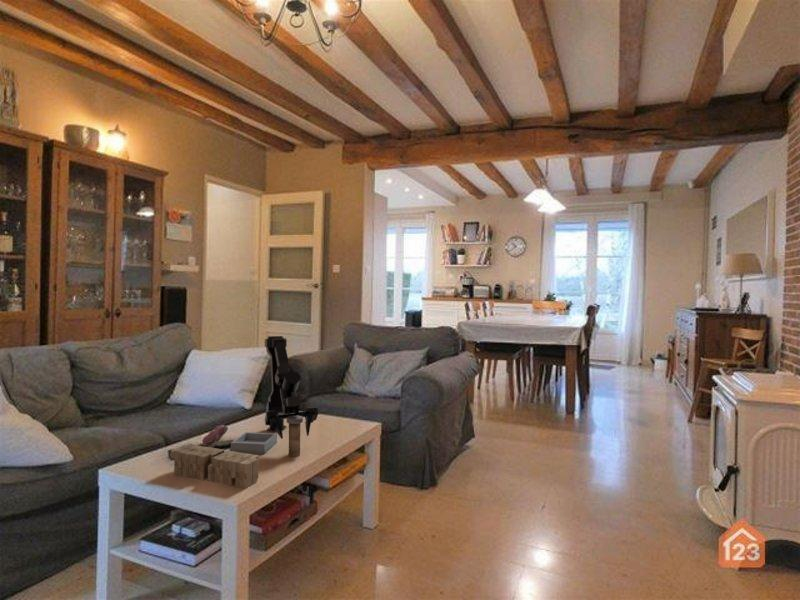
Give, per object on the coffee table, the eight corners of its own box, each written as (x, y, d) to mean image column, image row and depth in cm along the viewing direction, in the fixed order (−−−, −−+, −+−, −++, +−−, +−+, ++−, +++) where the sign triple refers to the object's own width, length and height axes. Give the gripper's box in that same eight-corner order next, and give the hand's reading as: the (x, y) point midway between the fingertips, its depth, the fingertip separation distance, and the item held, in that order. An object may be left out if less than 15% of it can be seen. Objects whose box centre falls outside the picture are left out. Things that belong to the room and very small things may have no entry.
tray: (245, 441, 186) (245, 432, 186) (276, 442, 185) (277, 433, 185) (230, 452, 174) (230, 442, 174) (264, 454, 172) (264, 444, 172)
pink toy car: (210, 448, 182) (217, 433, 181) (200, 442, 182) (208, 426, 182) (224, 440, 191) (231, 425, 190) (215, 434, 192) (222, 419, 191)
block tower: (262, 482, 150) (188, 466, 160) (263, 456, 150) (189, 441, 160) (246, 492, 143) (169, 474, 153) (247, 464, 143) (170, 448, 153)
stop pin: (289, 451, 175) (289, 415, 175) (304, 452, 175) (304, 415, 174) (284, 457, 170) (284, 419, 169) (299, 458, 169) (300, 419, 169)
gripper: (266, 388, 172) (271, 427, 162) (317, 385, 179) (325, 422, 169) (262, 405, 179) (267, 444, 169) (312, 401, 187) (319, 438, 177)
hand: (295, 436), depth 171 cm, fingers open, 9 cm apart
